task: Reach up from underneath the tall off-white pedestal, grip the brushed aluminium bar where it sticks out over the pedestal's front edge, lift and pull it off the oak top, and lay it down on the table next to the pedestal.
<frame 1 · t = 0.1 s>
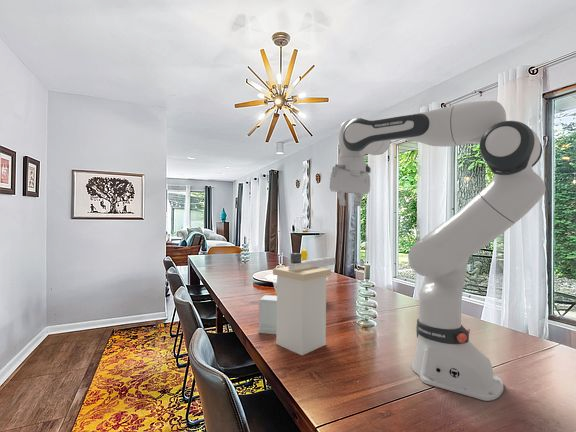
hand: (350, 205, 112), 48 cm above the table, tool pointing down, fingers open, 8 cm apart
pedestal: (301, 344, 108), on the table
supplement box: (270, 330, 121), on the table
figure statuette: (306, 284, 200), on the table
colander: (295, 302, 160), on the table
aluminium bar: (315, 266, 113), point 26 cm above the table, touching pedestal
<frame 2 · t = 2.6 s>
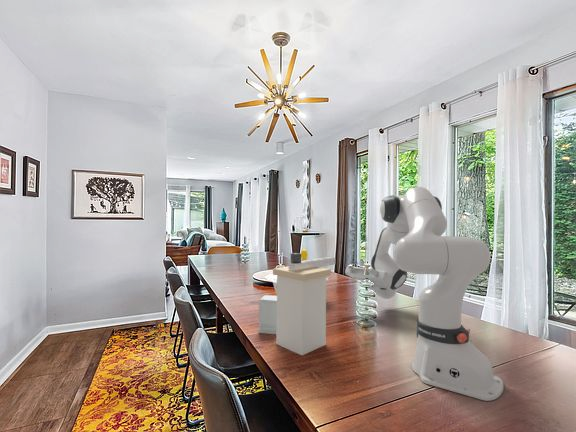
hand: (359, 267, 133), 22 cm above the table, tool pointing upward, fingers open, 8 cm apart
nothing on the table moved.
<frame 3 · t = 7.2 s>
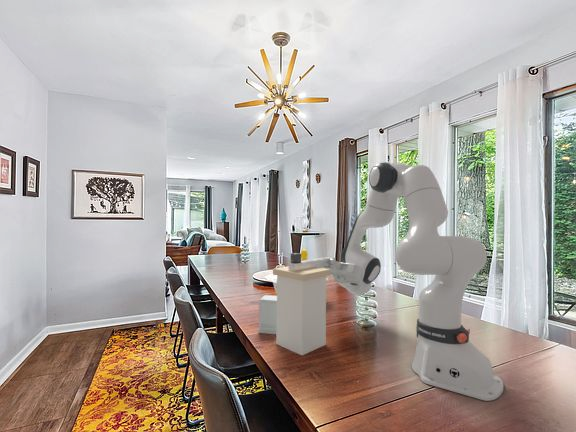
hand: (326, 260, 117), 28 cm above the table, tool pointing upward, fingers closed on aluminium bar, 3 cm apart
aluminium bar: (315, 266, 113), point 26 cm above the table, touching gripper, pedestal
everything else where it was.
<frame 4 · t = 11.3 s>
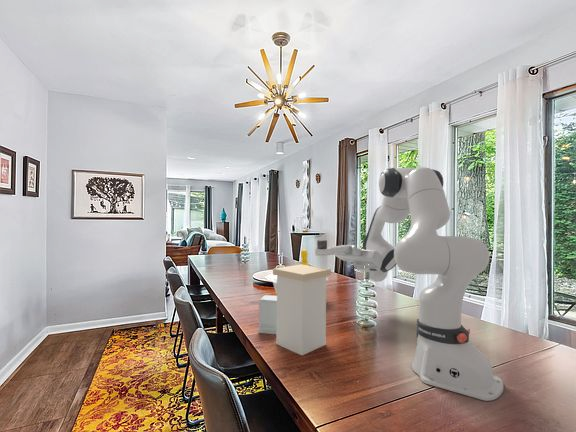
hand: (347, 247, 127), 32 cm above the table, tool pointing upward, fingers closed on aluminium bar, 3 cm apart
aluminium bar: (338, 253, 123), point 30 cm above the table, touching gripper
everything else where it was.
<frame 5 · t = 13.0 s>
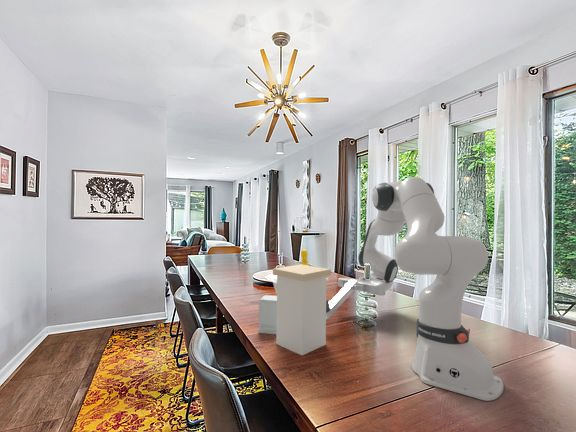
hand: (349, 286, 129), 15 cm above the table, tool horizontal, fingers closed on aluminium bar, 3 cm apart
aluminium bar: (342, 299, 126), point 11 cm above the table, tilted 26°, touching gripper
everything else where it was.
when the fingers open (6 cm above the table, at t = 15.4 s): aluminium bar drops 3 cm, on the table.
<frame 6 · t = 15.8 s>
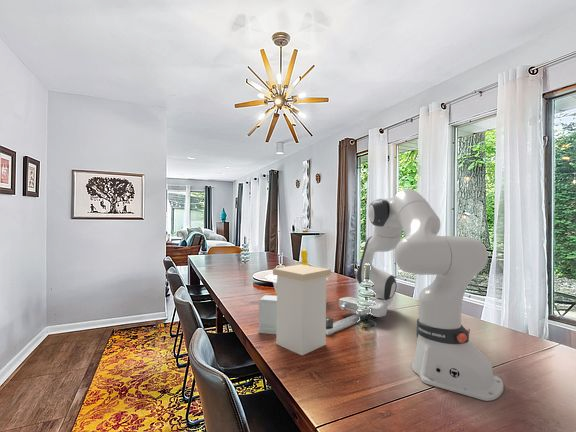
hand: (350, 310, 130), 6 cm above the table, tool horizontal, fingers open, 7 cm apart
aluminium bar: (343, 327, 126), on the table
everything else where it was.
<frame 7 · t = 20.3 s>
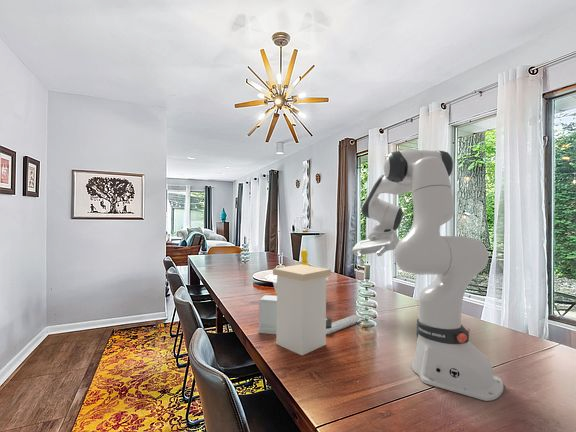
hand: (368, 256, 133), 27 cm above the table, tool tilted 60°, fingers open, 8 cm apart
nothing on the table moved.
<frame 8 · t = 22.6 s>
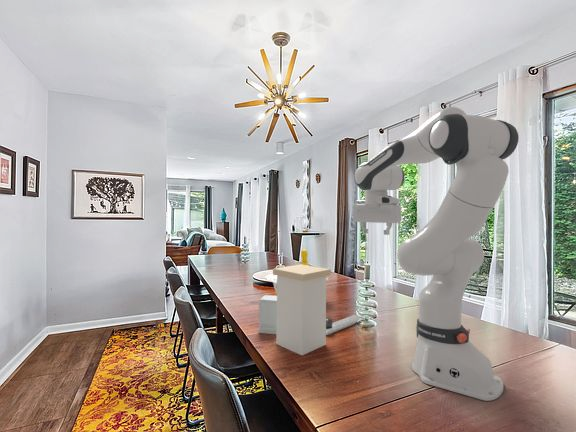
hand: (375, 234, 127), 37 cm above the table, tool pointing down, fingers open, 8 cm apart
nothing on the table moved.
at the end: aluminium bar inside the target area (0.9 cm from its centre), on the table; aluminium bar touching table; the gripper is holding nothing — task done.
